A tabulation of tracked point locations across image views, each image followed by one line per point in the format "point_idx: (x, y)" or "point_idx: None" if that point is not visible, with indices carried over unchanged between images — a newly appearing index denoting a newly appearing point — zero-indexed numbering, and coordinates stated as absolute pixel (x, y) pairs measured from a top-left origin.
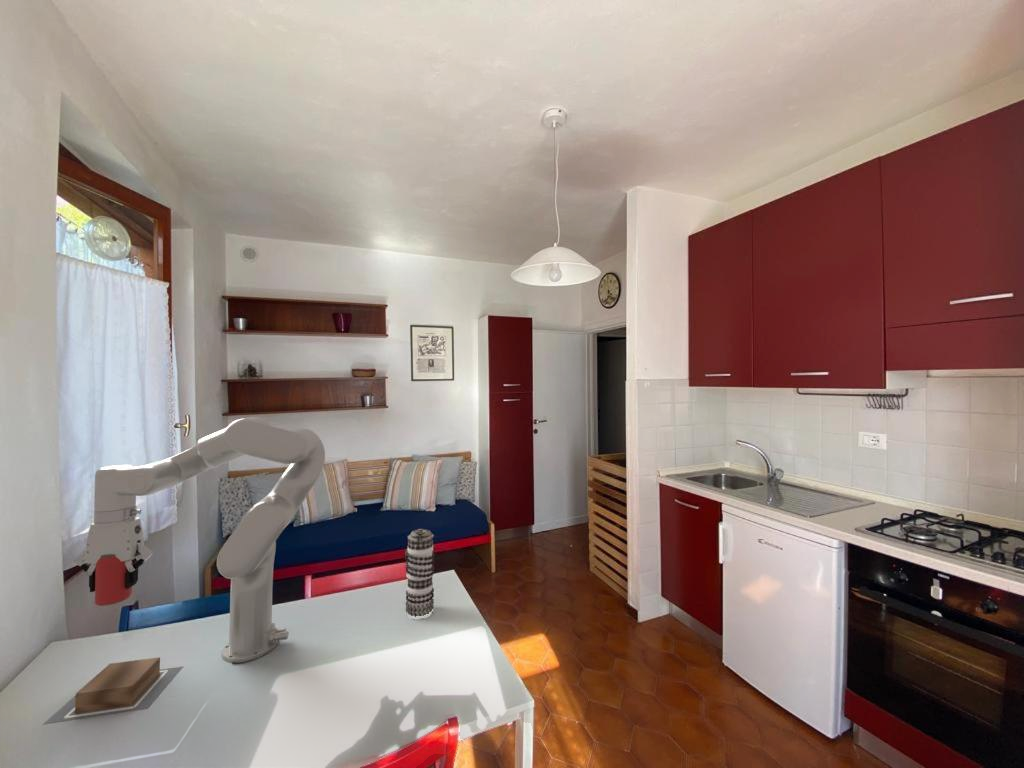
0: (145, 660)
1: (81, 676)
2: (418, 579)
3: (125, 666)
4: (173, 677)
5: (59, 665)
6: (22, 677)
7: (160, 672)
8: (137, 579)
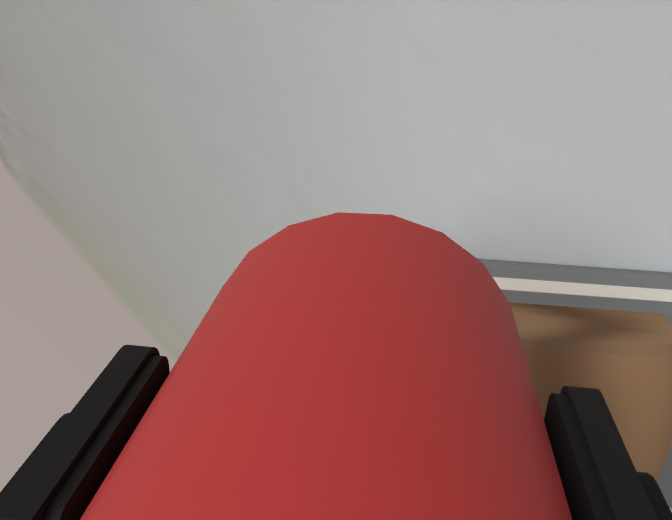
0: (629, 367)
1: (291, 202)
2: None
3: (549, 390)
4: None
5: (106, 60)
6: (15, 128)
7: (662, 301)
8: (650, 486)
